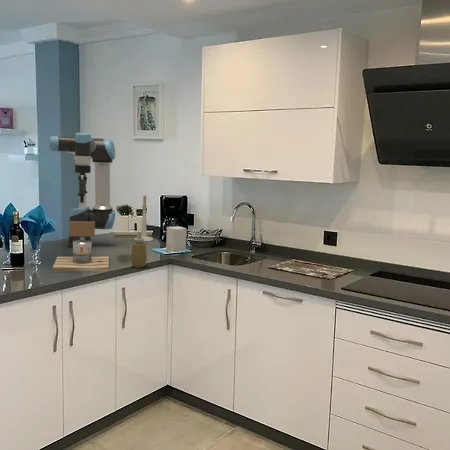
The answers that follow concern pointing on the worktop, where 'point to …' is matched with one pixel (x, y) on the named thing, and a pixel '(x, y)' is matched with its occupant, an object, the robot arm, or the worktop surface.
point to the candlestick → (144, 223)
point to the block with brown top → (82, 236)
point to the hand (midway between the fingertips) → (82, 207)
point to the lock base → (81, 264)
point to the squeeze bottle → (138, 252)
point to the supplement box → (176, 239)
